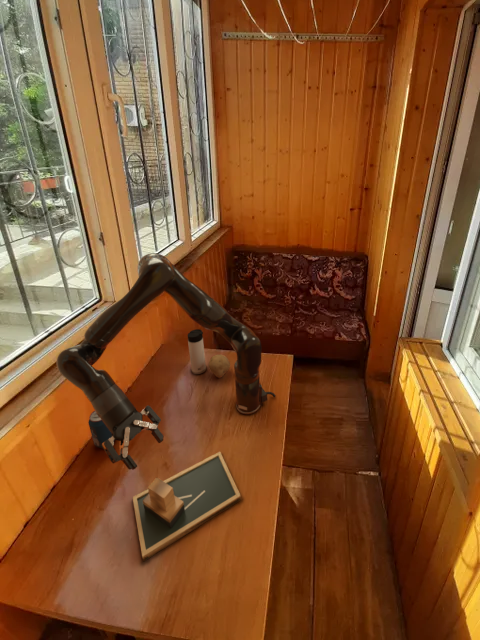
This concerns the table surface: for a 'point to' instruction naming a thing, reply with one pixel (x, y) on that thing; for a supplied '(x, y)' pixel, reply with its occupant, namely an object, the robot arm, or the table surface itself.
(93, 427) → the soda can
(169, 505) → the eraser
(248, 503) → the table surface
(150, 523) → the chalkboard
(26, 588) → the table surface
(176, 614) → the table surface
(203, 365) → the travel mug
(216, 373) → the natural sponge
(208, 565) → the table surface
